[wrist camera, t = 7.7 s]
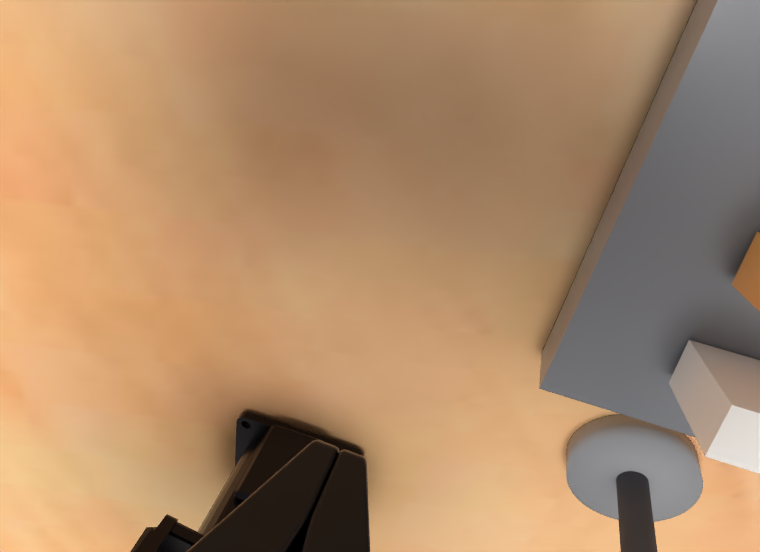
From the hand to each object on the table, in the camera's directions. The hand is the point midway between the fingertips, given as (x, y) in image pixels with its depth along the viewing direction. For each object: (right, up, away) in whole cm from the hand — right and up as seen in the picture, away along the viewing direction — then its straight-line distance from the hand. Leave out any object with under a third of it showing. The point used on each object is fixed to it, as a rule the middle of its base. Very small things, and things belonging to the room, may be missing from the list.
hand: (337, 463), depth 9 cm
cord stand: (+11, -5, +15) cm, 20 cm away
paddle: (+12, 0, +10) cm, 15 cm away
